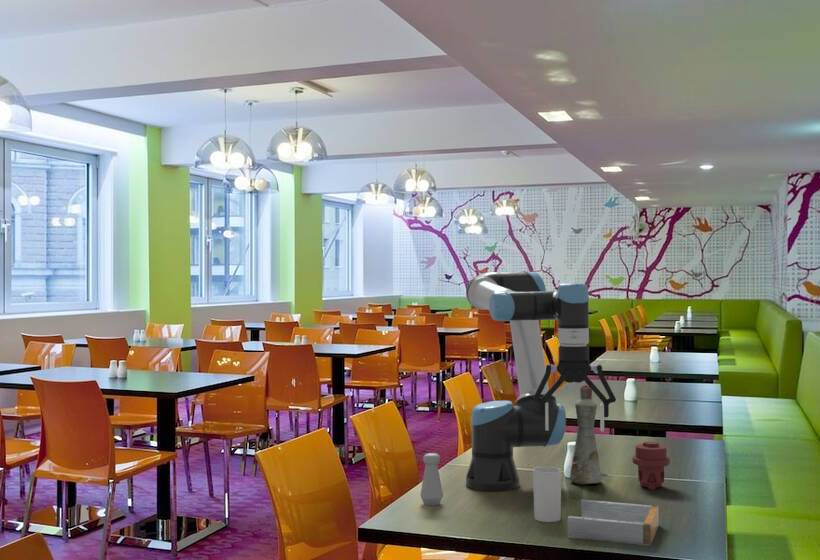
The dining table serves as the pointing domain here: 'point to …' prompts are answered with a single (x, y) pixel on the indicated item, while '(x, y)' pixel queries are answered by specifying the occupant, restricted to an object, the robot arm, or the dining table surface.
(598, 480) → the bottle
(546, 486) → the mug
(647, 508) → the channel
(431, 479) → the salt shaker
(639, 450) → the mechanical component
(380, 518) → the dining table surface
